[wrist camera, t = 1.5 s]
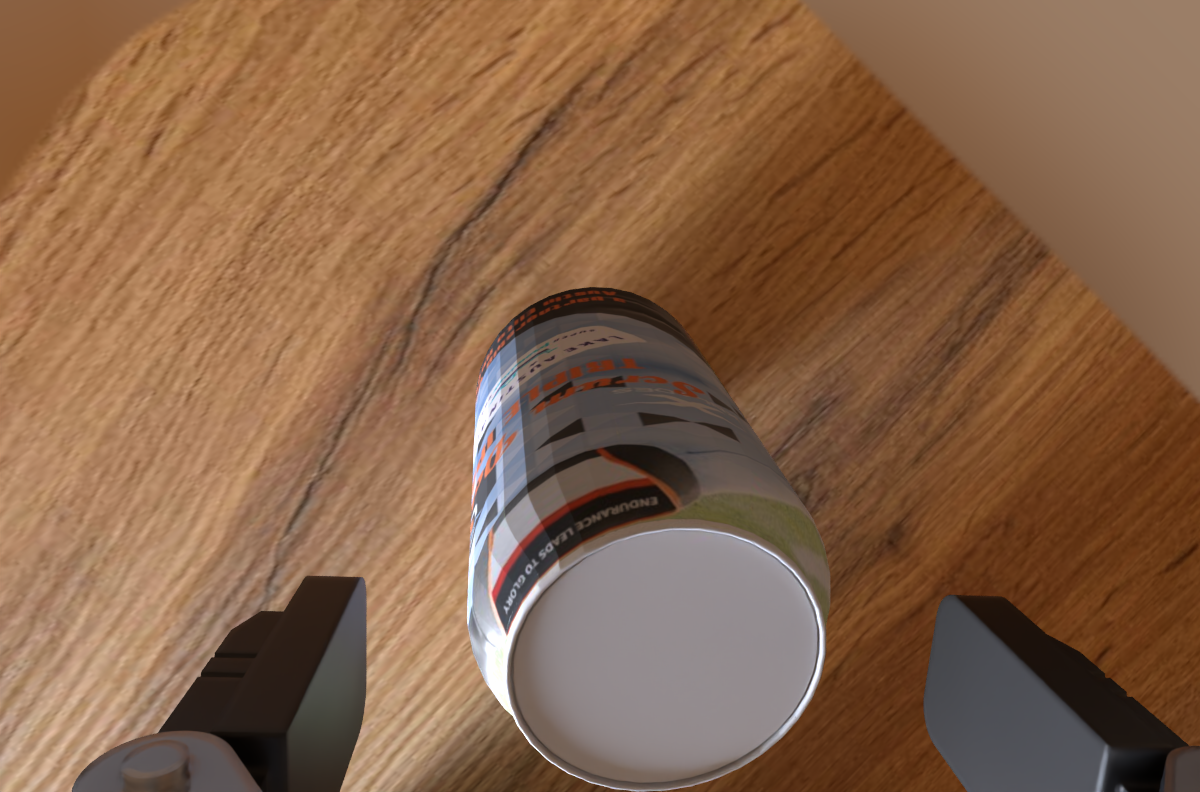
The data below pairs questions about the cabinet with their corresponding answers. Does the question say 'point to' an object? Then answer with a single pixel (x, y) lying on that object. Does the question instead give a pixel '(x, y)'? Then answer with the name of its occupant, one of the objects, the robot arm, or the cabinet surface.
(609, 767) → the beverage can
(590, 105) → the cabinet surface
